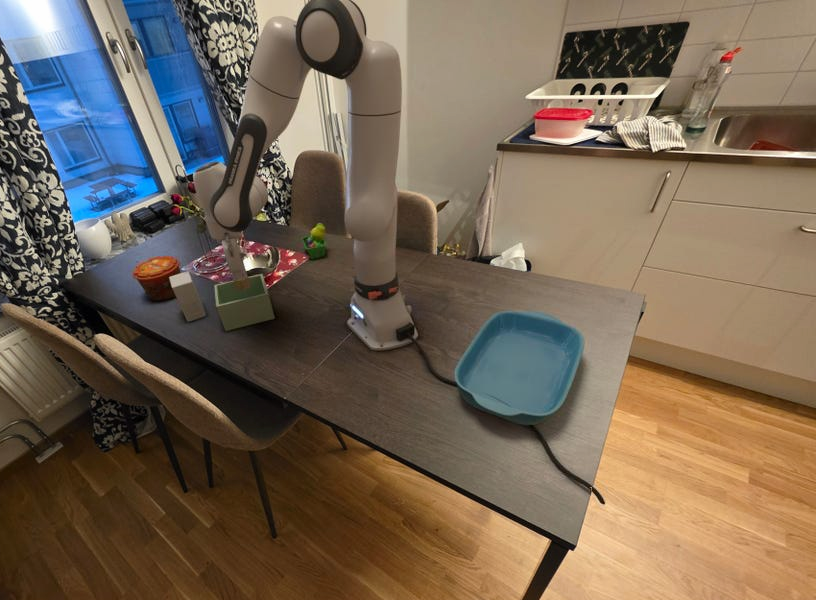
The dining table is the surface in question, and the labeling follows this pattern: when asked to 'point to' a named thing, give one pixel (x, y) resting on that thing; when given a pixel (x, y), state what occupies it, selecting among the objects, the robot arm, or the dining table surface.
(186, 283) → the small box
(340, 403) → the dining table surface
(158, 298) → the food container
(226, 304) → the bin
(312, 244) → the fruit basket
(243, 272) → the sprinkles bottle
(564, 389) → the casserole dish
